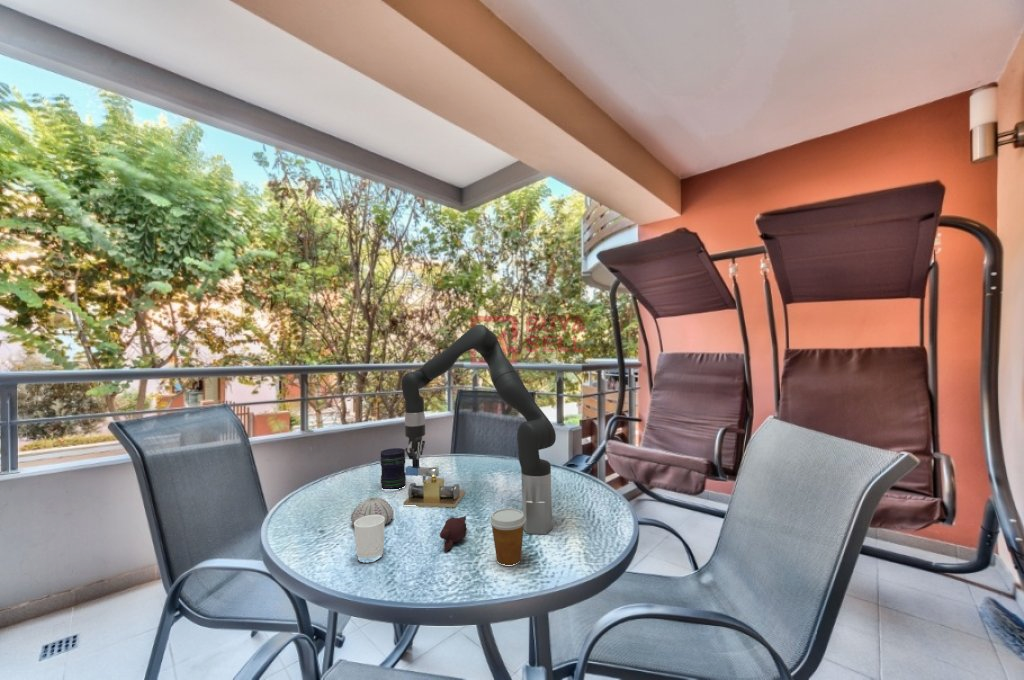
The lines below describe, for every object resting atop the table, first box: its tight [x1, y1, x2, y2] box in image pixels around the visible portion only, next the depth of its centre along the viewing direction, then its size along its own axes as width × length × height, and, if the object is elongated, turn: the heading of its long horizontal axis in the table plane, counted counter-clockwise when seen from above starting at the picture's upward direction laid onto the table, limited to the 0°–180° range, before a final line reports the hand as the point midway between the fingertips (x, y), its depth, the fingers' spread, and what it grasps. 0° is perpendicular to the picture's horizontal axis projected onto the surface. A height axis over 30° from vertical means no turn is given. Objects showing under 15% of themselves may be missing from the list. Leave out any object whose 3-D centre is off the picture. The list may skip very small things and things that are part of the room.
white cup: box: [353, 515, 386, 558], centre depth 111 cm, size 8×8×10 cm
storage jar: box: [379, 447, 407, 489], centre depth 167 cm, size 10×10×15 cm
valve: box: [403, 474, 466, 509], centre depth 152 cm, size 14×19×10 cm
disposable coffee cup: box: [489, 507, 526, 565], centre depth 108 cm, size 10×10×12 cm
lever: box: [405, 465, 440, 478], centre depth 152 cm, size 13×4×3 cm, turn 76°
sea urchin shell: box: [350, 496, 395, 525], centre depth 133 cm, size 13×14×8 cm
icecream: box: [439, 516, 468, 552], centre depth 119 cm, size 7×7×15 cm
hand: (416, 468), depth 156 cm, fingers closed
